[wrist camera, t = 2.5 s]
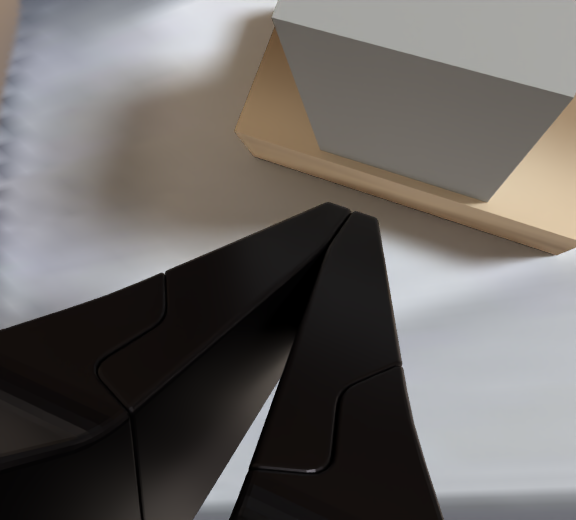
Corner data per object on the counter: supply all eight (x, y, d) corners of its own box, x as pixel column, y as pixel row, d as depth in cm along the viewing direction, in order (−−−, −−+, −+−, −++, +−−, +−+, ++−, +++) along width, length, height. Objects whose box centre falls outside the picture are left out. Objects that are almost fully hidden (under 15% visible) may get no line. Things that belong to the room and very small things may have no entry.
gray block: (487, 202, 15) (574, 97, 8) (320, 149, 16) (271, 17, 9) (545, 38, 15) (678, -198, 8) (378, -3, 16) (373, -243, 9)
